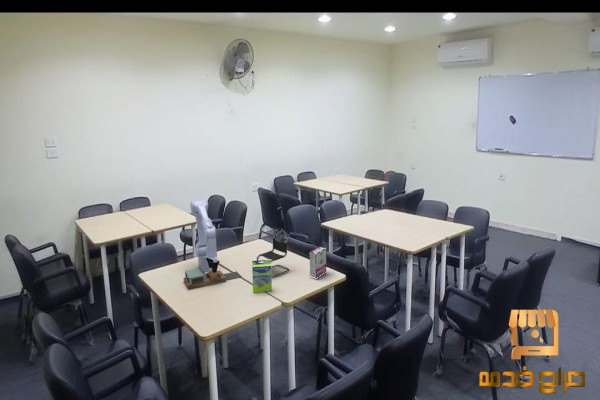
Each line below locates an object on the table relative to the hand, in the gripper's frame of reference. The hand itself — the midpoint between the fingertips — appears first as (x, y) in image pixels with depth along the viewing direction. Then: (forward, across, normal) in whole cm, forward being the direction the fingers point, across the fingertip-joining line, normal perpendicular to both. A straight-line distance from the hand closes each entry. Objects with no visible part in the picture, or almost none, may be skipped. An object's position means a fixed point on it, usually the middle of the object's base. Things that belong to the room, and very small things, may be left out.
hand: (212, 270), depth 230 cm
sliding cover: (+4, 0, -10) cm, 11 cm away
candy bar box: (+7, +25, +57) cm, 63 cm away
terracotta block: (+6, 0, 0) cm, 6 cm away
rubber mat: (+6, 0, +12) cm, 13 cm away
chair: (+7, +7, +36) cm, 37 cm away
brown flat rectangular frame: (+6, 0, -5) cm, 8 cm away
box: (+7, +27, +20) cm, 34 cm away
